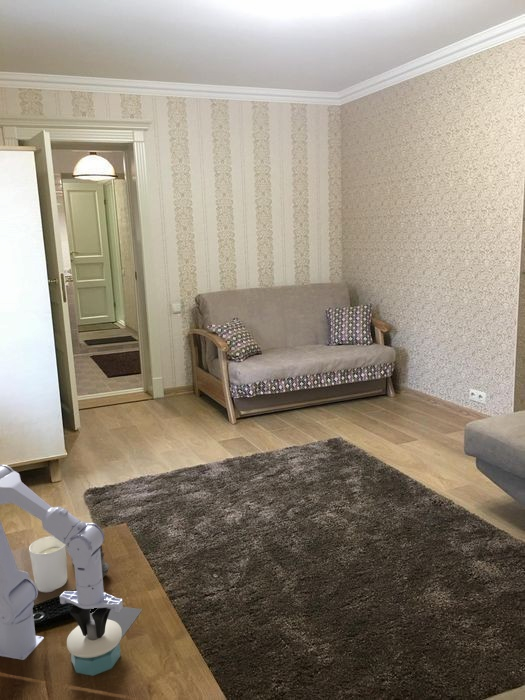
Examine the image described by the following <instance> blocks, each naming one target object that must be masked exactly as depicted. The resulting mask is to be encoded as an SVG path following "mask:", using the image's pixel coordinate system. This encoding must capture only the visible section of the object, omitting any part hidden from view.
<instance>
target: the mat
mask: <svg viewBox="0 0 525 700" xmlns="http://www.w3.org/2000/svg"><path fill="white" fill-rule="evenodd" d="M142 611H143V609H142V608H136V607H129V606H123V607H122V609H121V610H120V611H119V612H115V609H111V610H110V613H109V615H108V618H107V619H109V620H113V621H115V622H117V623H118V624H119V625H120V627H121V630H122V637H121V640H122V639H123V638H124V636H125V635H126V633H127V632H128V631H129V629H130V628H131V627H132V625H133V624H134V622H135V621H136V620H137V619H138V617H139V615H140V614H141V613H142ZM93 613H94V612H92V613H90V620H93V617H92V614H93ZM77 626H79V624H77Z"/></svg>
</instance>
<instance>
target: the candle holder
mask: <svg viewBox="0 0 525 700" xmlns="http://www.w3.org/2000/svg"><path fill="white" fill-rule="evenodd" d="M66 547H67V546H66V545H65V544H64V543H62V542H61V541H59V540H58V539H57V538H55V537H54V536H52V535H50V536H44V537H41V538H38V539H35V540H34V541H33V542H31V544H30V545H29V547H28V552H29V557H30V562H31V568H32V574H33V580H34V583H35V585H36V587H37V589H38V592H40V593H51V592H52V593H53V592H54V591H56V590H57V589H60V588H62V587H63V586H64V585H65V584H67V581H68V564H67V563H68V560H67V559H68V558H67V555H68V554H67V553H68V552H67V548H66Z"/></svg>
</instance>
